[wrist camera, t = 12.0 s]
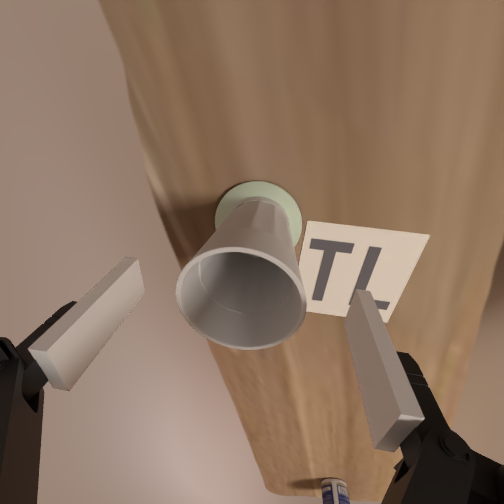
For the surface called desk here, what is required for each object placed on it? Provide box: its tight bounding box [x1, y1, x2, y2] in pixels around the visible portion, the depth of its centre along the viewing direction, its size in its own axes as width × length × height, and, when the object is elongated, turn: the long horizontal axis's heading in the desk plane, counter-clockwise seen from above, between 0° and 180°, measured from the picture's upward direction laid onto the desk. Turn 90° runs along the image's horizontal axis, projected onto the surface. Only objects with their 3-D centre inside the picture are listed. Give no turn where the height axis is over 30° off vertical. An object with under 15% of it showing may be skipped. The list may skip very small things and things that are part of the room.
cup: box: [176, 196, 307, 350], centre depth 20 cm, size 8×8×12 cm
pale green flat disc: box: [215, 180, 302, 247], centre depth 25 cm, size 9×9×1 cm
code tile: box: [298, 221, 430, 323], centre depth 27 cm, size 12×12×1 cm
